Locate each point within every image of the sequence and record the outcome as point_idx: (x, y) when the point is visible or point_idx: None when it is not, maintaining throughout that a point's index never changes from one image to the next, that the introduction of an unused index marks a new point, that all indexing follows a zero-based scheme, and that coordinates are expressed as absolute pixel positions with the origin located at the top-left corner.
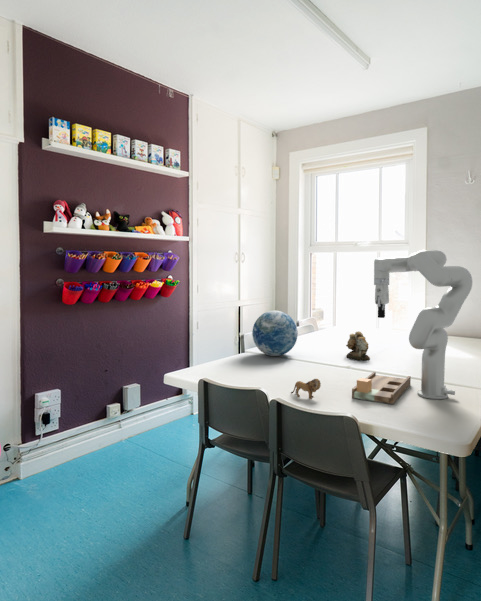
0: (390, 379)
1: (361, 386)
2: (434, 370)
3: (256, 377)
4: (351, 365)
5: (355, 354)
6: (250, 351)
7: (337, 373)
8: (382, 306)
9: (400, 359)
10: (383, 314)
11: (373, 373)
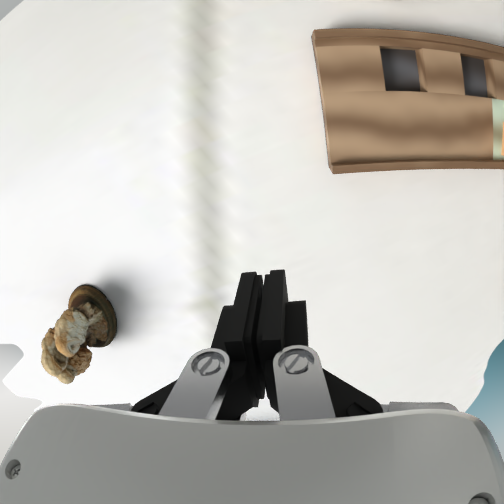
0: (361, 94)
1: None
2: None
3: (426, 400)
4: (180, 303)
5: (102, 327)
6: None
7: (305, 299)
8: (330, 408)
9: (24, 214)
10: (282, 300)
11: (356, 166)
